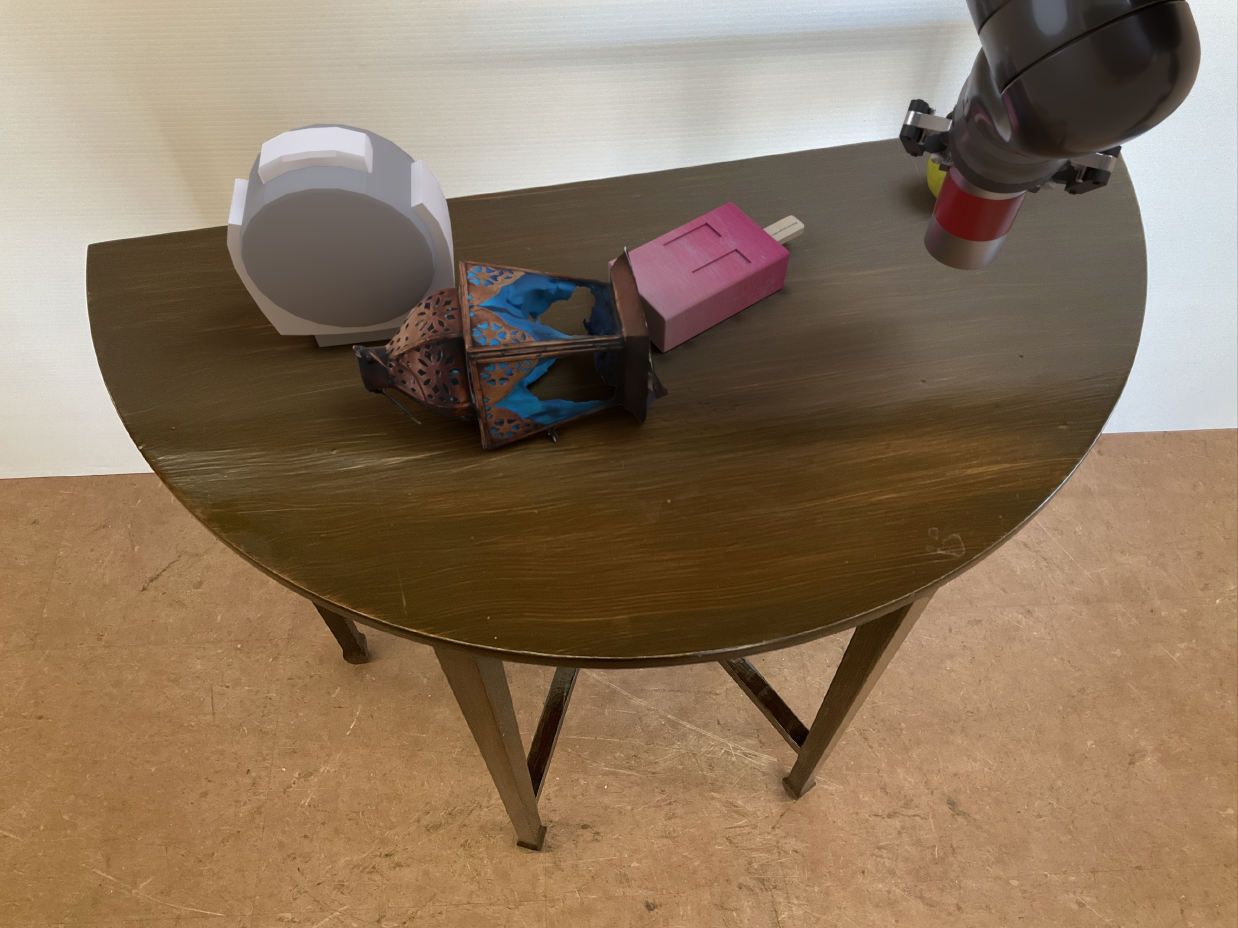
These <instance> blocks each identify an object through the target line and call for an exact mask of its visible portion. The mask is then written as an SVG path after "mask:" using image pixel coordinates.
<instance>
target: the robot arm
mask: <svg viewBox="0 0 1238 928" xmlns="http://www.w3.org/2000/svg"><path fill="white" fill-rule="evenodd" d="M965 2H966V5H967V9H968V11H969V14H970V17H971V20H972V23H973V25H974V28H975V31H976V33H977V35H978V38H979V42H980V44H981V47H980V48H979V50H978V53H977V54H976V56H975V59H974V62H973V64H972V67H971V69H970V73H969V75H968V76H967V78H966V79H965V81H964V83H963V85H962V87H961V90H960V92H959V95H958V97H957V100H956V104H955V105H954V107H953V109H952V110H951V111H950V112H949V113H947V115H946V116H945V117H943V116H938V115H936V112H937V109H936V108H934V107H930V105H929V102H927V101H925V100H924V99H922V98H915V99H911V100H910V103H909V106H908V108H907V111H906V114H905V117H904V119H903V123H902V126H901V129H900V131H899V135H898V138H899V140H900V142H901V144H902V146H903V148H904V151H905V152H906V154H909V155H910V156H911V157H914V158H918V157H923V156H924V153H925V152H926V153H929V154H931V155H932V156H931V155H930V156H931V159H930V160H931V161H932V162H933V163H936V164H940V165H939V169H938V170H941V171H945V172H947V170H948V168H949V166H951V167H954V168H957V169H958V171H959V172H960V173H961V175H962V176H963V177H964V178H965V179H966V180H967V181H969V182H970V183H971V184H973V185H974V186H976V187H978V188H980V189H983V190H985V191H989V192H993V193H1001V194H1009V193H1017V192H1022V191H1025V190H1028V189H1029V191H1028V193H1032V194H1037V193H1038V192H1039V191H1040V190H1044V191H1049V190H1054V189H1055V188H1056V186H1057V185H1058V184H1059V185H1065V186H1064V188H1063V191H1064V192H1066V193H1068V194H1069V195H1072V196H1076V195H1084V194H1085V193H1089V192H1091V191H1095V190H1097V189H1100V188H1103V187H1106V186H1108V183H1109V180H1110V178H1111V175H1112V173H1113V170H1114V168H1115V166H1116V163H1117V161H1118V158H1119V156H1120V153H1121V150H1122V148H1123V146H1122V145H1124V144H1126V143H1128V142H1131V141H1133V140H1135V139H1137V138H1139V137H1141V136H1142V135H1144V134H1146V133H1148V132H1149V131H1151V130H1153V129H1154V128H1156V127H1157V126H1158V125H1160V124H1161V123H1162V122H1164V121H1165V120H1166V119H1168V118H1169V117H1170V116H1172V115H1173V113H1174V112H1175V111H1176V110H1177V109H1178V108H1179V107H1180V106H1181V105H1182V104H1183V103H1184V102H1185V101H1186V99H1187V98H1188V96H1189V95H1190V93H1191V92H1192V89H1193V87H1194V85H1195V83H1196V81H1197V77H1198V73H1199V69H1200V65H1201V58H1202V48H1201V47H1202V46H1201V41H1200V35H1199V30H1198V27H1197V24H1196V21H1195V19H1194V15H1193V12H1192V9H1191V6H1190V4H1189V2H1188V1H1186V0H965Z"/></svg>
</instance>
